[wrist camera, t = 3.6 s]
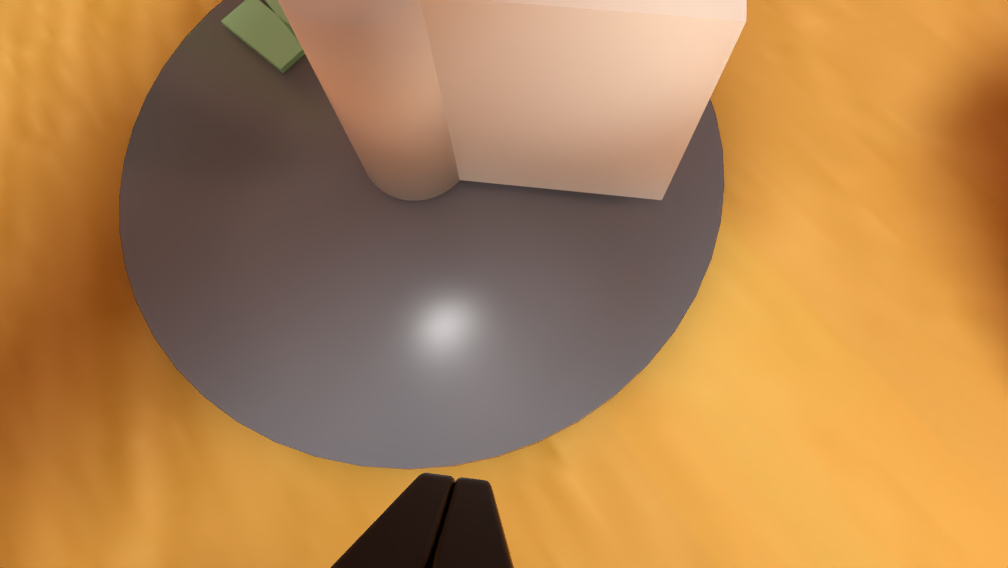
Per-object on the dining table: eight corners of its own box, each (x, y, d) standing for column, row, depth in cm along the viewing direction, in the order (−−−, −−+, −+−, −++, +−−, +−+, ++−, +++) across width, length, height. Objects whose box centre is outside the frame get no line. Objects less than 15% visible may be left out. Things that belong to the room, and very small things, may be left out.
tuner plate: (50, 424, 19) (24, 420, 18) (220, -78, 25) (207, -101, 24) (708, 512, 18) (718, 514, 17) (723, -42, 24) (732, -65, 23)
